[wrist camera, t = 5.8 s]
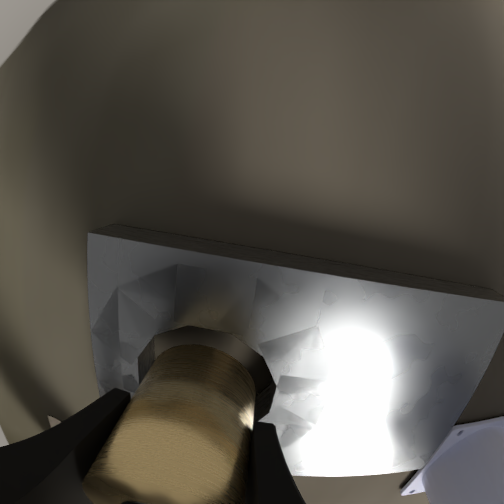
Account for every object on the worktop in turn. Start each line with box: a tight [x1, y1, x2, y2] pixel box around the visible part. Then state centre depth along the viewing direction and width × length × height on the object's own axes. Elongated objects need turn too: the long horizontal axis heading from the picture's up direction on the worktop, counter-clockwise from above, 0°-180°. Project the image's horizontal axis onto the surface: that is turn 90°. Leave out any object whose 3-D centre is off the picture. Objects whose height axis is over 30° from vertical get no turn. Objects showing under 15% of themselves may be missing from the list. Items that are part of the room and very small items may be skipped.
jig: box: [87, 224, 504, 476], centre depth 12 cm, size 18×11×2 cm, turn 81°
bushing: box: [82, 345, 256, 504], centre depth 8 cm, size 4×4×6 cm
